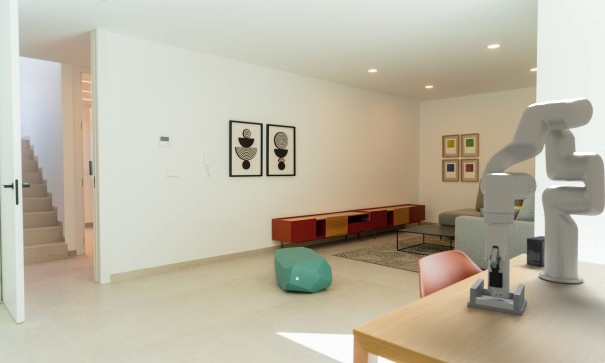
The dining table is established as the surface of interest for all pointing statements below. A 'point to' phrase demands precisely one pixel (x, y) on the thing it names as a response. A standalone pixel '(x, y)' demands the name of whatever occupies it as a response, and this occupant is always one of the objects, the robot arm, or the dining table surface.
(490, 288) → the skincare box
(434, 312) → the dining table surface
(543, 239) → the small box
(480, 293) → the rest
